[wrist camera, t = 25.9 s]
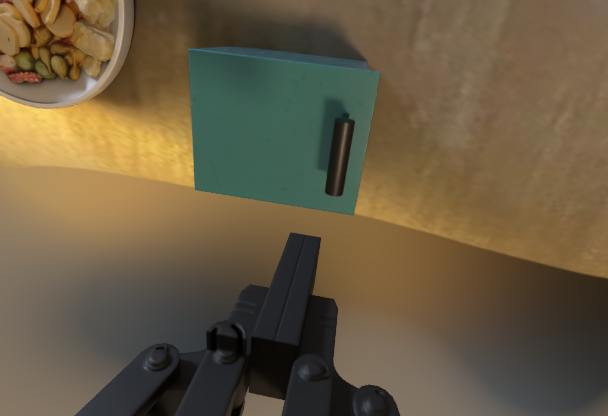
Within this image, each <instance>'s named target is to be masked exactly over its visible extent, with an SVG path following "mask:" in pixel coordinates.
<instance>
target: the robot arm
mask: <svg viewBox="0 0 608 416" xmlns="http://www.w3.org/2000/svg"><path fill="white" fill-rule="evenodd" d="M320 242H321V238H320V237H314V236H308V235H302V234H297V233H290V235H289V238H288V240H287V243H286V246H285V248H284V251H283V254H282V256H281V259H280V262H279V264H278V267H277V270H276V272H275V275H274V278H273V280H272V283H271V285H270V288H267V287H261V286H255V285H249V286H248V287H246V288H245V289H244V290H243V291H242V292H241V293H240V295H239V298H238V300H237V303H236V304H235V306H234V308H233V310H232V312H231V314H230V316H229V318H228V320H224V321H220V322H217V323H215V324H214V325H213V326H211V327H210V328H209V329H208V330H207V332H206V336H207V349H205V350H202V351H199V352H191V353H179V351H178V349H177V348H176V347H174V346H173V345H170V344H166V343H164V344H156V345H153V346H151V347H148V348H147V349H145V350H144V351H143V352H141V353H140V354H139V355H138V356H137V357H136V358H135V359H134V360H133V361H132V362H131V363H130V364H129V365H128V366H127V367H125V368H124V369H123V370H122V371H121V372H120V373H119V374H118V375H117V376H116V377H115V378H114V379H113V380H112V381H111V382H110V383H109V384H108V385H106V386H105V387H104V388H103V389H102V390H101V391H100V392H99V393H98V394H97V395H96V396H95V397H94V398H93V399H92V400H91V401H90V402H89V403H88V404H86V406H85V407H83V408H82V409H81V410H80V411H79V412H78V413H77V414H76V415H75V416H242V413H243V410H244V404H245V396H246V393H247V389H248V387H249V393H254V394H258V395H263V396H268V397H273V398H277V399H282V400H285V402H284V407H283V411H282V416H400V414H399V411H398V408H397V405H396V403H395V401H394V399H393V397H392V396H391V395H390V394H389V393H388V392H387V391H386V390H384V389H382V388H380V387H378V386H374V385H366V386H362V387H360V388H359V389H358V388H357V387H355V386H353V385H351V384H349V383H348V382H346V381H345V380H343V379H342V378H341V377H340V376H339V375H338V373H337V372H336V370H335V367H334V363H333V357H334V345H335V336H336V325H337V314H338V308H337V306H336V303H335V301H334V299H330V298H325V297H320V296H314V295H312V293H313V288H314V283H315V276H316V269H317V262H318V255H319V249H320Z"/></svg>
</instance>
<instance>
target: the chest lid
mask: <svg viewBox="0 0 608 416" xmlns="http://www.w3.org/2000/svg"><path fill="white" fill-rule="evenodd" d="M189 70H190V92H191V114H192V136H193V159H194V181H195V190H199V191H205V192H211V193H217V194H223V195H230V196H236V197H242V198H248V199H255V200H261V201H267V202H273V203H279V204H286V205H292V206H298V207H305V208H310V209H317V210H323V211H330V212H336V213H341V214H348V215H354V212H355V207H356V201H357V196H358V191H359V185H360V180H361V175H362V170H363V164H364V159H365V154H366V149H367V143H368V138H369V133H370V128H371V122H372V117H373V112H374V106H375V101H376V96H377V91H378V85H379V80H380V75H381V72H379V71H371V70H363V69H354V68H346V67H338V66H330V65H322V64H314V63H305V62H297V61H289V60H281V59H273V58H265V57H256V56H248V55H240V54H232V53H224V52H216V51H207V50H199V49H189Z"/></svg>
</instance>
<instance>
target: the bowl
mask: <svg viewBox="0 0 608 416" xmlns="http://www.w3.org/2000/svg"><path fill="white" fill-rule="evenodd" d="M133 26H134V0H0V95H1V96H3V97H5V98H7V99H9V100H12V101H14V102H17V103H20V104H23V105H27V106H31V107H36V108H44V109H57V108H64V107H69V106H73V105H77V104H80V103H83V102H85V101H87V100H89V99H91V98H93V97H95V96H96V95H98V94H99V93H100V92H102V91H103V90H104V89H105V88H106V87H107V86H108V85H109V84H110V83H111V82H112V81H113V80H114V78H115V77H116V76H117V74H118V73H119V71H120V70H121V68H122V66H123V64H124V62H125V59H126V57H127V54H128V52H129V48H130V44H131V40H132V34H133Z"/></svg>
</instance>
